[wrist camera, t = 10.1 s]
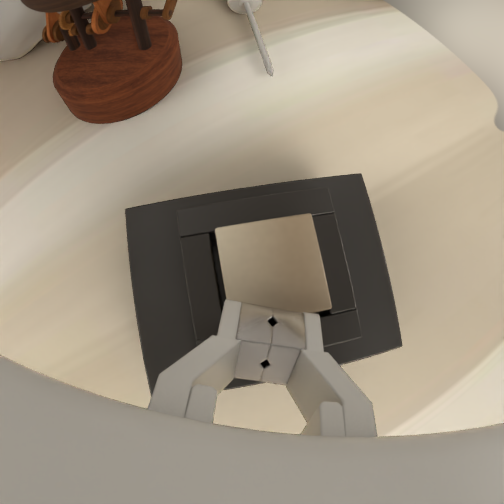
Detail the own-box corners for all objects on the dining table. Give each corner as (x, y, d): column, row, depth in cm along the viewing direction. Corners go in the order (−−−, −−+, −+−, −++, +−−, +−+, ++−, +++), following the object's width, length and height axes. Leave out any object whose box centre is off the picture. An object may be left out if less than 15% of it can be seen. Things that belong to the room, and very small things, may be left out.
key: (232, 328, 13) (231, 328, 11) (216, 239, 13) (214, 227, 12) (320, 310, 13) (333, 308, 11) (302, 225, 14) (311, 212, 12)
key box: (172, 380, 18) (140, 409, 11) (150, 236, 20) (112, 194, 13) (363, 342, 19) (422, 348, 12) (333, 206, 21) (374, 156, 14)
